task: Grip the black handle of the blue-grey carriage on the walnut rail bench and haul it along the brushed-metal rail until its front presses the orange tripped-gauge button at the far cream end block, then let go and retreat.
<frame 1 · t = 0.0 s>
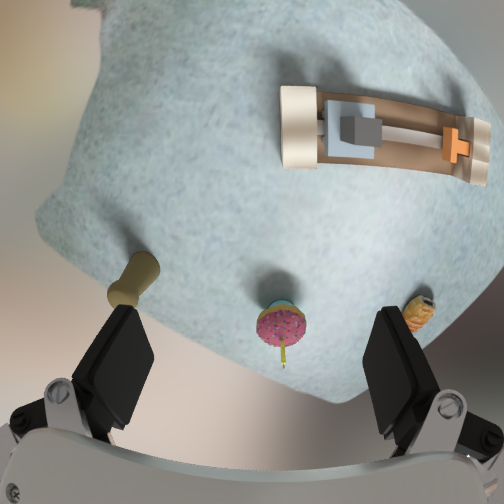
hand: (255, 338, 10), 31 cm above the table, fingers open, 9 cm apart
pastry: (414, 309, 47), on the table
gauge button: (461, 147, 28), point 5 cm above the table, slide at 0.0 cm
rail bench: (388, 133, 33), on the table
cork: (145, 265, 46), on the table
cupcake: (280, 309, 49), on the table
carriage: (354, 130, 28), point 7 cm above the table, slide at 0.0 cm
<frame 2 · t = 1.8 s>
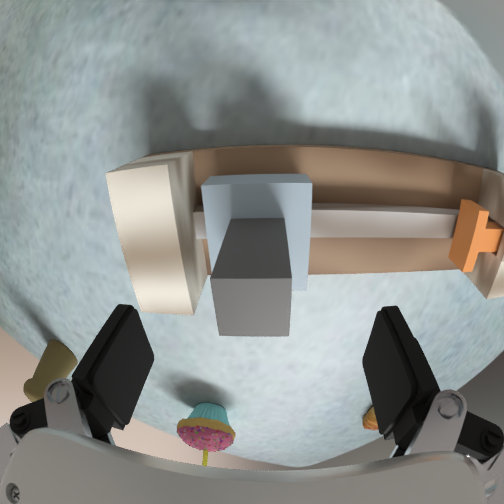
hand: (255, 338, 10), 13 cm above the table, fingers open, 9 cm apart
pastry: (385, 405, 35), on the table
gauge button: (487, 236, 15), point 5 cm above the table, slide at 0.0 cm
rail bench: (355, 209, 20), on the table
cork: (63, 352, 34), on the table
cupcake: (210, 408, 36), on the table
carriage: (257, 250, 15), point 7 cm above the table, slide at 0.0 cm
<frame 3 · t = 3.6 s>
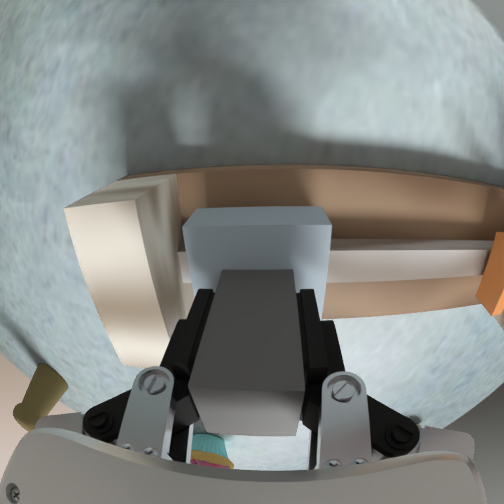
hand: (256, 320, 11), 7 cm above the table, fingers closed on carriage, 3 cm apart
rail bench: (375, 243, 17), on the table
cork: (53, 375, 30), on the table
cupcake: (207, 438, 32), on the table
carriage: (257, 313, 11), point 7 cm above the table, slide at 0.0 cm, touching gripper
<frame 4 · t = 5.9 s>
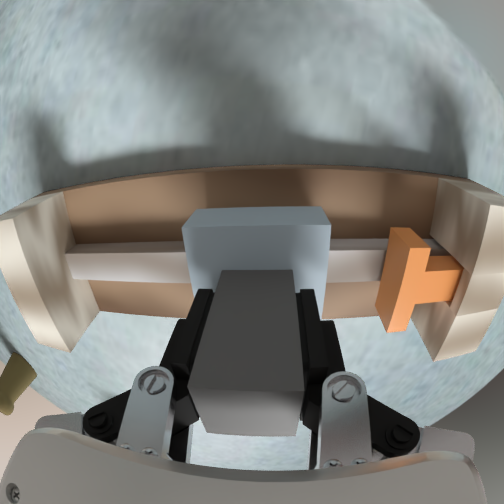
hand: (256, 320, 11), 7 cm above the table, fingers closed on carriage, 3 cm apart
gauge button: (436, 278, 12), point 5 cm above the table, slide at 0.0 cm
rail bench: (243, 244, 17), on the table
cork: (24, 364, 31), on the table
carriage: (257, 313, 11), point 7 cm above the table, slide at 8.7 cm, touching gripper
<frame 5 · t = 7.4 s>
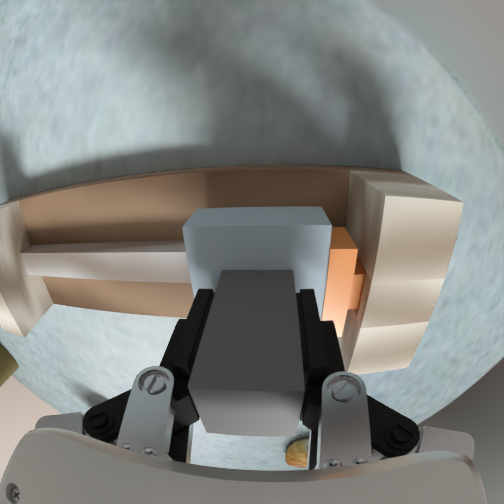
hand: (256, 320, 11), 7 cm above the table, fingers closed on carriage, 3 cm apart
pastry: (309, 444, 32), on the table
gauge button: (379, 282, 13), point 5 cm above the table, slide at 2.2 cm, touching carriage
rail bench: (156, 245, 18), on the table
cork: (8, 355, 31), on the table
carriage: (257, 313, 11), point 7 cm above the table, slide at 14.7 cm, touching gauge button, gripper
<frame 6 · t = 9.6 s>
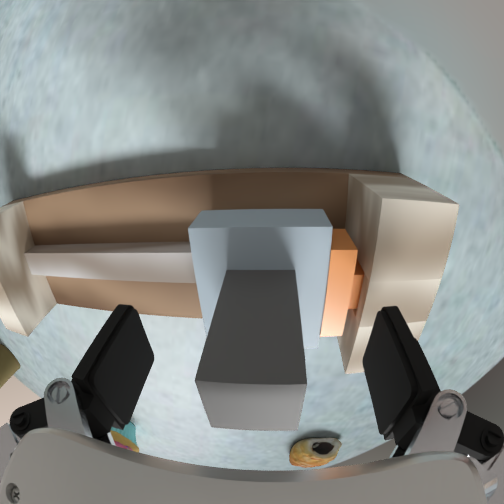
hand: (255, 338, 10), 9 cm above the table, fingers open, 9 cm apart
pastry: (313, 444, 32), on the table
gauge button: (378, 282, 13), point 5 cm above the table, slide at 2.3 cm, touching carriage
rail bench: (160, 246, 18), on the table
cork: (9, 355, 32), on the table
cupcake: (121, 420, 34), on the table
carriage: (260, 312, 12), point 7 cm above the table, slide at 14.8 cm, touching gauge button
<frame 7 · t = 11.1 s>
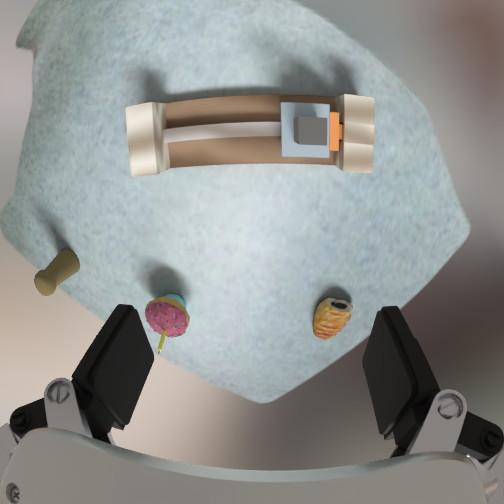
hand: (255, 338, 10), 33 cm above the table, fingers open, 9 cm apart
pastry: (330, 312, 50), on the table
gauge button: (350, 132, 31), point 5 cm above the table, slide at 2.3 cm, touching carriage
rail bench: (250, 129, 36), on the table
cork: (70, 260, 49), on the table
cupcake: (174, 302, 51), on the table
carriage: (307, 130, 30), point 7 cm above the table, slide at 14.8 cm, touching gauge button
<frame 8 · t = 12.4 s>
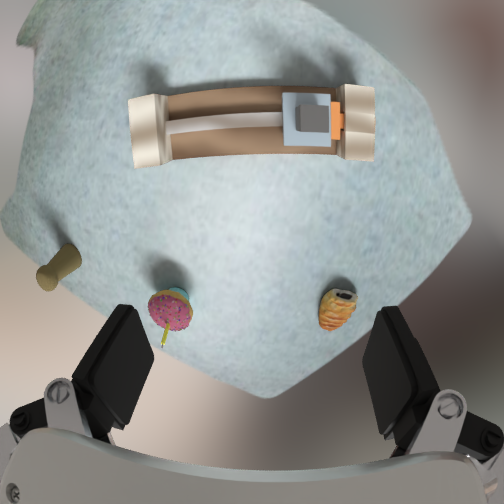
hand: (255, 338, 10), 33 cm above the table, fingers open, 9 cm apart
pastry: (335, 303, 50), on the table
gauge button: (351, 122, 31), point 5 cm above the table, slide at 2.3 cm, touching carriage
rail bench: (252, 120, 36), on the table
cork: (72, 255, 49), on the table
cupcake: (177, 296, 51), on the table
carriage: (308, 119, 29), point 7 cm above the table, slide at 14.8 cm, touching gauge button
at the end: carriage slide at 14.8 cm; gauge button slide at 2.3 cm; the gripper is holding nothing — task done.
